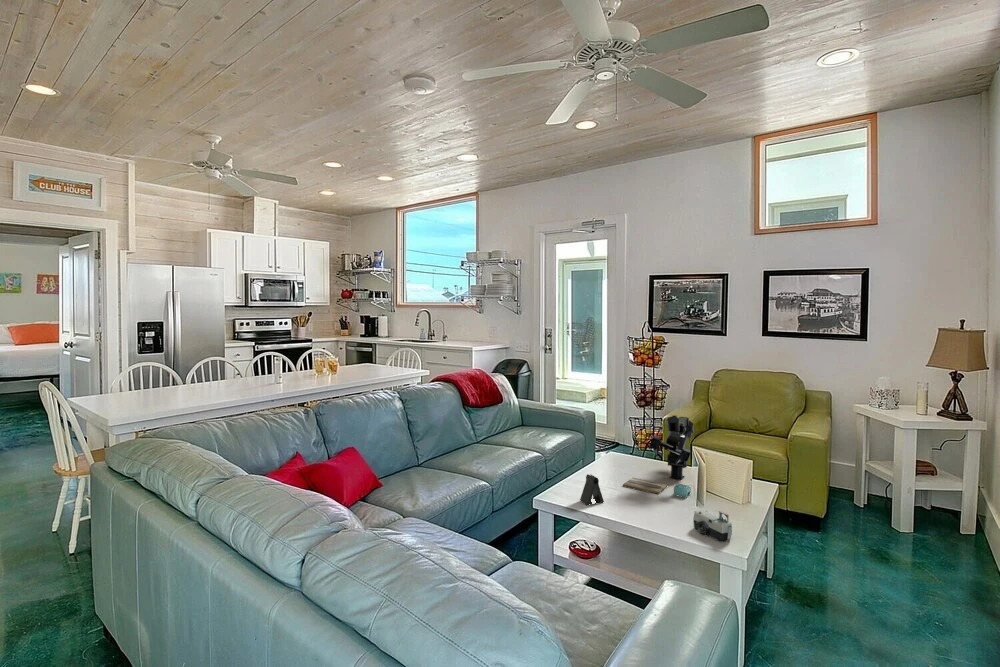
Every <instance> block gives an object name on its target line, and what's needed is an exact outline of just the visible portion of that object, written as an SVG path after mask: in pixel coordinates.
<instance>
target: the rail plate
mask: <svg viewBox="0 0 1000 667" xmlns="http://www.w3.org/2000/svg"><path fill="white" fill-rule="evenodd" d="M624 486H626V487H625V488H628V487H630V488H629V489H633V488H635V489H634V490H637V489H639V490H638V491H641V490H644V491H643V492H646V491H648V492H647V493H650V492H653V493H652V494H655V493H657V494H656V495H660V494H661V493H662V492H664V491H665V490H666V489H667V488H668V487H669V484H665V483H661V482H656V481H651V480H646V479H642V478H638V477H631V478H629V479H628V480H627V481H626V482H624V483H623V484H622V487H624ZM667 486H668V487H667ZM666 487H667V488H666ZM665 488H666V489H665ZM664 489H665V490H664ZM660 492H661V493H660ZM659 493H660V494H659Z"/></svg>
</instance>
